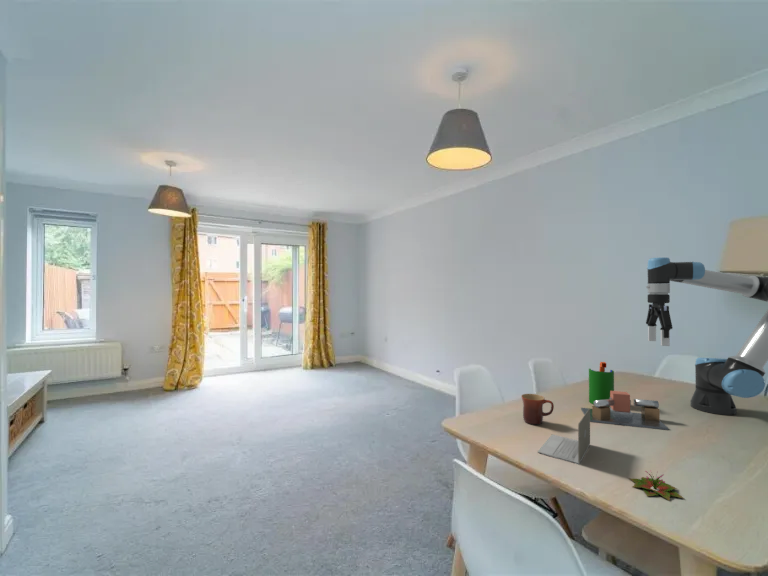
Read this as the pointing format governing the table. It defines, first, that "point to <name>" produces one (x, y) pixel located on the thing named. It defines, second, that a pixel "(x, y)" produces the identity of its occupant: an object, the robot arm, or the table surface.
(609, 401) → the shaft
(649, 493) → the lily flower
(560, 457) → the laptop
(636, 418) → the base plate
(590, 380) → the motor
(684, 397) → the table surface
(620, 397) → the block
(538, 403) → the mug
